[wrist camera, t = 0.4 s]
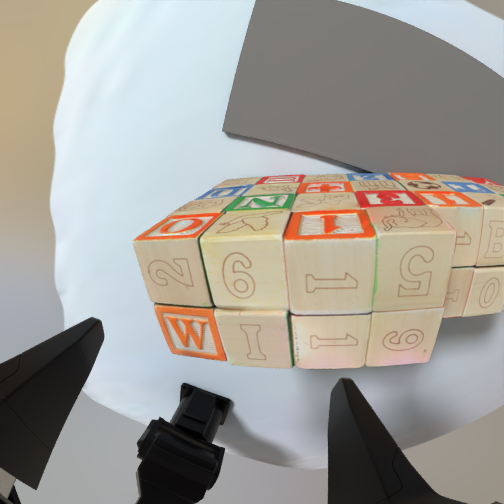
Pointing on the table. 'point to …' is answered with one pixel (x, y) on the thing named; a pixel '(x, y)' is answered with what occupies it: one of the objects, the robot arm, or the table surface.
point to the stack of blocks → (325, 267)
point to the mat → (366, 92)
